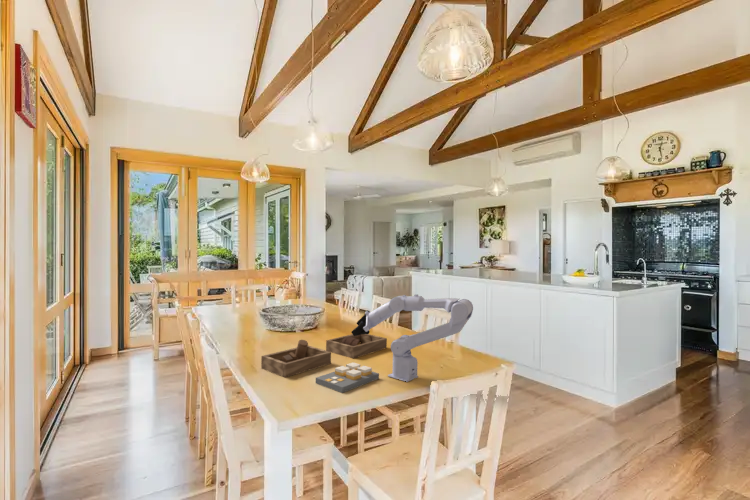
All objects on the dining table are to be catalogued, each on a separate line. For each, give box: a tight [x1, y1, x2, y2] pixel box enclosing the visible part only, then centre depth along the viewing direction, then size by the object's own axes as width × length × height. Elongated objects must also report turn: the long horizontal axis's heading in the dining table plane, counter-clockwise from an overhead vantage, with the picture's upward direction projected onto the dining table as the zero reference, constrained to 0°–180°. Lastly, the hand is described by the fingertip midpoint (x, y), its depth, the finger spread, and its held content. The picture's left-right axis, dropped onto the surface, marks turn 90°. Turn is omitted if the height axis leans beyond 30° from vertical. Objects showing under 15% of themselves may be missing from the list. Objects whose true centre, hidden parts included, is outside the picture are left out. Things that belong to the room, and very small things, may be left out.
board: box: [315, 371, 380, 394], centre depth 151 cm, size 14×20×2 cm
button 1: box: [357, 365, 373, 376], centre depth 154 cm, size 4×4×2 cm
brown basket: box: [342, 335, 372, 346], centre depth 195 cm, size 18×12×7 cm, turn 139°
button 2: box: [346, 369, 361, 380], centre depth 149 cm, size 4×4×2 cm
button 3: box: [345, 362, 361, 370], centre depth 158 cm, size 4×4×2 cm
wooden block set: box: [282, 339, 313, 363], centre depth 167 cm, size 18×9×10 cm, turn 140°
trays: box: [260, 333, 388, 378], centre depth 181 cm, size 18×60×5 cm, turn 140°
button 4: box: [334, 365, 350, 377], centre depth 153 cm, size 4×4×2 cm
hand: (355, 329), depth 166 cm, fingers open, 7 cm apart
